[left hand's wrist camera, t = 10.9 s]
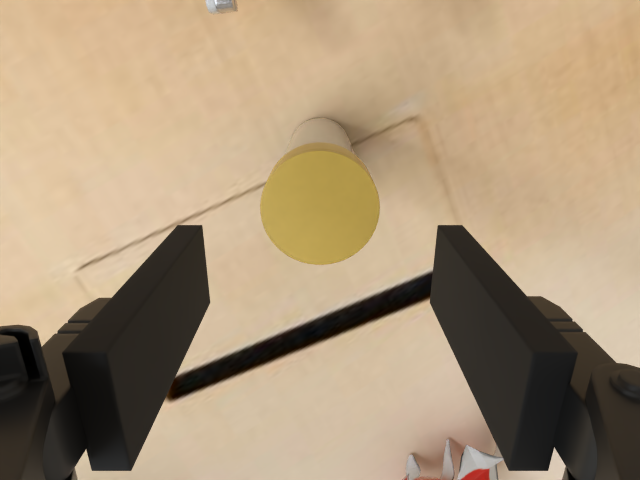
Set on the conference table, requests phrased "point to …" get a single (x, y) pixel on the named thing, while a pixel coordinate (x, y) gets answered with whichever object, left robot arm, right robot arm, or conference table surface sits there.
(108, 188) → the conference table surface
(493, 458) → the multicoloured piece
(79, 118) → the conference table surface
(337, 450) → the conference table surface
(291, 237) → the lid
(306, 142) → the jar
